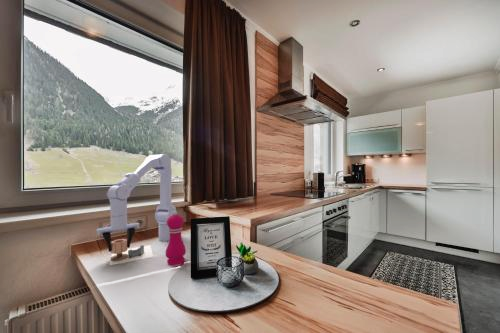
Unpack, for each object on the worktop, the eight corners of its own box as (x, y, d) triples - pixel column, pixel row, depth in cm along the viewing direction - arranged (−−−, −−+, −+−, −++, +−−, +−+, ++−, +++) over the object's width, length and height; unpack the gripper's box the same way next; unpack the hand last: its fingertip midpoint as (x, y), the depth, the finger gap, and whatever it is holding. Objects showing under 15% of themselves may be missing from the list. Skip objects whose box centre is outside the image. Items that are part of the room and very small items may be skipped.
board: (150, 246, 101) (150, 245, 101) (153, 258, 87) (153, 256, 87) (112, 253, 94) (112, 251, 94) (109, 267, 80) (109, 265, 80)
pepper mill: (179, 268, 78) (178, 212, 78) (161, 267, 79) (160, 212, 80) (189, 260, 85) (188, 209, 85) (172, 259, 86) (171, 209, 87)
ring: (127, 247, 90) (127, 238, 90) (126, 252, 85) (126, 241, 86) (112, 250, 88) (112, 240, 88) (110, 254, 83) (110, 244, 83)
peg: (128, 254, 91) (127, 241, 91) (127, 258, 86) (127, 246, 86) (111, 257, 88) (111, 244, 88) (110, 262, 83) (109, 249, 83)
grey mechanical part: (143, 251, 93) (143, 245, 93) (144, 255, 89) (144, 248, 89) (128, 254, 90) (128, 247, 90) (128, 258, 86) (128, 251, 86)
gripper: (136, 211, 95) (137, 242, 94) (96, 216, 86) (96, 250, 86) (140, 213, 89) (140, 246, 89) (97, 219, 80) (97, 255, 80)
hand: (119, 249), depth 87 cm, fingers closed on ring, 6 cm apart
